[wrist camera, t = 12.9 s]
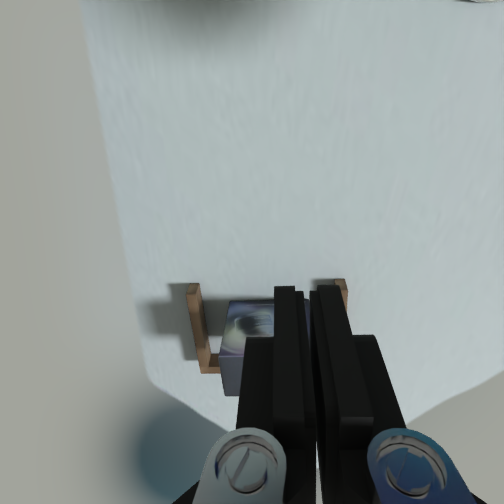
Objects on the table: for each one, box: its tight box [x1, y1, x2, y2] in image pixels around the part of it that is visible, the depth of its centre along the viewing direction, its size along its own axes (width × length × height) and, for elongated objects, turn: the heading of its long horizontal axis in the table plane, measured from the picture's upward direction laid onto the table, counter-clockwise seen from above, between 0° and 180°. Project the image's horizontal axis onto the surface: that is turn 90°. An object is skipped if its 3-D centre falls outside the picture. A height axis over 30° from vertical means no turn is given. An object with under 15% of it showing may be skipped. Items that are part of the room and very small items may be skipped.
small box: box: [218, 299, 310, 396], centre depth 46 cm, size 11×6×10 cm, turn 95°
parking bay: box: [186, 279, 348, 374], centre depth 50 cm, size 19×13×2 cm
